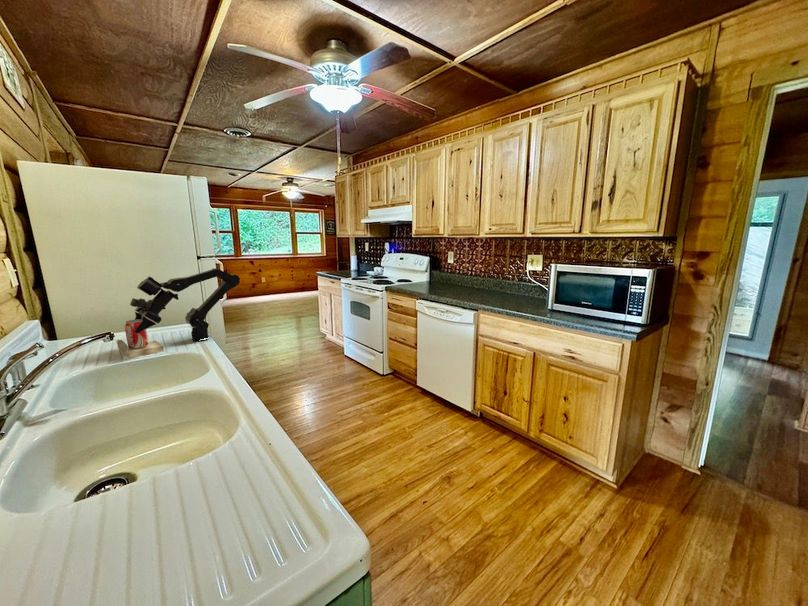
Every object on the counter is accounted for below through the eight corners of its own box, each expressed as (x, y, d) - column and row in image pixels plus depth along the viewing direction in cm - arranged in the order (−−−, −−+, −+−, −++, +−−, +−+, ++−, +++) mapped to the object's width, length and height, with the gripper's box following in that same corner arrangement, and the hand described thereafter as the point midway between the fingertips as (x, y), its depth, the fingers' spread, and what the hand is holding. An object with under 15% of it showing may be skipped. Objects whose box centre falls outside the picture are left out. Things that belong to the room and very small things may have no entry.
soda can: (147, 348, 143) (142, 321, 141) (126, 350, 140) (121, 323, 138) (150, 343, 149) (145, 318, 147) (130, 346, 146) (125, 320, 144)
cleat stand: (156, 345, 155) (154, 333, 153) (163, 351, 147) (161, 338, 146) (119, 353, 144) (116, 340, 143) (124, 359, 137) (122, 345, 136)
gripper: (137, 289, 149) (109, 317, 143) (147, 293, 137) (118, 324, 131) (160, 303, 157) (135, 330, 151) (172, 308, 145) (145, 338, 139)
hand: (133, 330), depth 143 cm, fingers open, 9 cm apart
